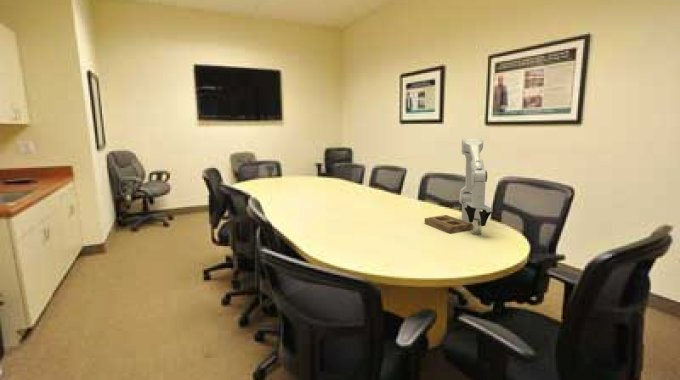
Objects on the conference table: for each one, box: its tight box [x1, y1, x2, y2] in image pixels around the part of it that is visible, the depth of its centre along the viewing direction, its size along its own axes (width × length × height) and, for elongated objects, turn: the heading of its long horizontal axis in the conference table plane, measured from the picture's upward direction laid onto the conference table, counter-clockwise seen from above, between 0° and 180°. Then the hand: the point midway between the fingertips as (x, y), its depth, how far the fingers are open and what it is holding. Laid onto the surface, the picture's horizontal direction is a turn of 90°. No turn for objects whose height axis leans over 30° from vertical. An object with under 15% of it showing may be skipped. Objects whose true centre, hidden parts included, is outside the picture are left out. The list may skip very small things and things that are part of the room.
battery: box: [471, 218, 483, 236], centre depth 178 cm, size 4×4×7 cm
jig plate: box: [424, 214, 473, 235], centre depth 191 cm, size 14×20×3 cm
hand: (477, 223), depth 178 cm, fingers open, 7 cm apart
